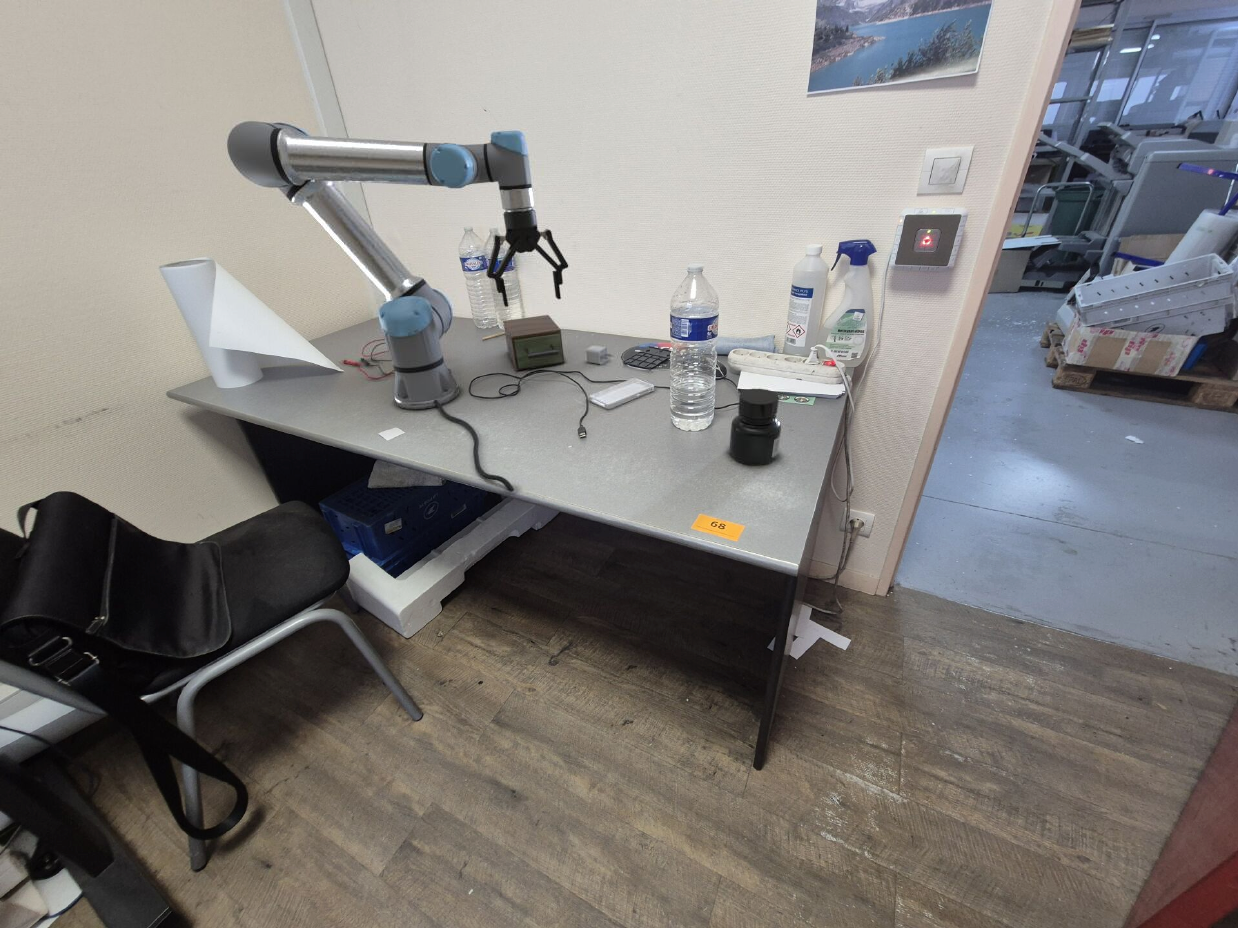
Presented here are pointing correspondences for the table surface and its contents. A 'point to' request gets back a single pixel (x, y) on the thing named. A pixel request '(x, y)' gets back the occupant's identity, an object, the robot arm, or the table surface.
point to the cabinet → (529, 333)
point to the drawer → (538, 350)
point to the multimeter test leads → (372, 359)
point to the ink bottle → (756, 427)
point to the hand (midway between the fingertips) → (532, 302)
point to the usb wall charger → (597, 354)
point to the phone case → (621, 393)
